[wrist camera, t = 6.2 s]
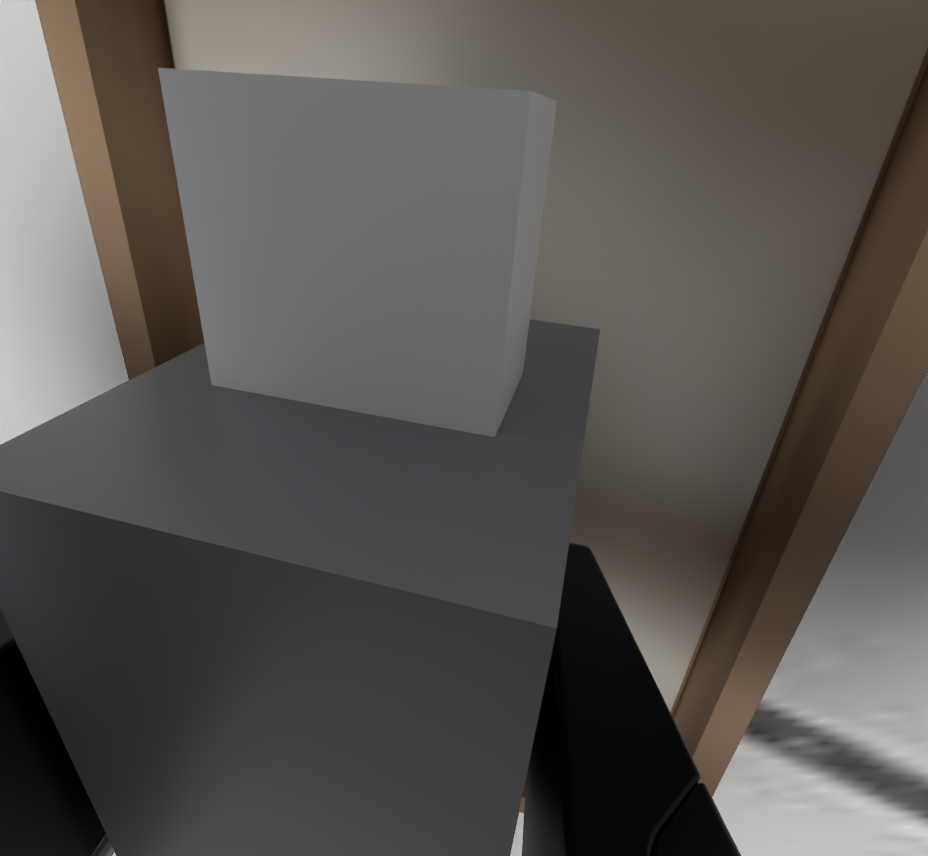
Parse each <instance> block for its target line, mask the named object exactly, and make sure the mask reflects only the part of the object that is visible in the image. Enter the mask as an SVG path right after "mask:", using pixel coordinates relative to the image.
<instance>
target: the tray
mask: <svg viewBox="0 0 928 856" xmlns="http://www.w3.org/2000/svg"><path fill="white" fill-rule="evenodd" d="M35 2H36V6H37V10H38V14H39V18H40V22H41V26H42V30H43V34H44V38H45V42H46V46H47V50H48V54H49V58H50V62H51V66H52V70H53V74H54V78H55V82H56V86H57V90H58V95H59V99H60V103H61V107H62V111H63V115H64V119H65V123H66V127H67V131H68V135H69V139H70V143H71V147H72V151H73V155H74V159H75V163H76V167H77V171H78V175H79V179H80V183H81V187H82V192H83V196H84V200H85V204H86V208H87V212H88V216H89V220H90V224H91V228H92V232H93V236H94V240H95V244H96V248H97V252H98V256H99V260H100V264H101V268H102V272H103V276H104V280H105V284H106V288H107V293H108V297H109V301H110V305H111V309H112V313H113V317H114V321H115V325H116V329H117V333H118V337H119V341H120V345H121V349H122V353H123V357H124V361H125V365H126V369H127V373H128V377H129V380H131V379H133V378H135V377H137V376H139V375H141V374H143V373H145V372H147V371H149V370H151V369H153V368H155V367H157V366H159V365H161V364H163V363H165V362H167V361H169V360H171V359H173V358H175V357H177V356H179V355H181V354H183V353H185V352H187V351H189V350H191V349H193V348H195V347H197V346H199V345H201V344H203V343H204V337H203V331H202V325H201V319H200V313H199V308H198V302H197V296H196V290H195V284H194V278H193V272H192V266H191V260H190V254H189V249H188V243H187V237H186V231H185V225H184V219H183V213H182V207H181V201H180V195H179V190H178V184H177V178H176V172H175V166H174V160H173V154H172V148H171V142H170V136H169V131H168V125H167V119H166V113H165V107H164V101H163V95H162V89H161V83H160V77H159V72H158V68H170V69H186V70H202V71H218V72H234V73H250V74H266V75H282V76H299V77H315V78H331V79H347V80H363V81H379V82H395V83H411V84H427V85H444V86H460V87H476V88H492V89H508V90H524V91H533V92H535V93H538V94H540V95H543V96H545V97H548V98H550V99H552V100H555V101H557V106H556V114H555V122H554V130H553V138H552V146H551V154H550V162H549V170H548V178H547V186H546V194H545V202H544V210H543V218H542V226H541V234H540V242H539V250H538V258H537V266H536V274H535V282H534V290H533V298H532V306H531V314H530V319H531V320H538V321H545V322H553V323H560V324H567V325H574V326H581V327H588V328H595V329H600V335H599V341H598V348H597V355H596V362H595V369H594V376H593V383H592V390H591V396H590V403H589V410H588V417H587V424H586V431H585V438H584V445H583V451H582V458H581V465H580V472H579V479H578V486H577V493H576V500H575V506H574V513H573V520H572V527H571V534H570V541H569V542H570V543H575V544H579V545H584V546H587V547H589V548H590V549H591V551H592V552H593V554H594V557H595V559H596V561H597V563H598V565H599V567H600V569H601V571H602V573H603V575H604V577H605V579H606V581H607V583H608V585H609V587H610V589H611V591H612V594H613V596H614V598H615V600H616V602H617V604H618V606H619V608H620V610H621V612H622V614H623V616H624V618H625V620H626V622H627V624H628V626H629V628H630V631H631V633H632V635H633V637H634V639H635V641H636V643H637V645H638V647H639V649H640V651H641V653H642V655H643V657H644V659H645V661H646V663H647V666H648V668H649V670H650V672H651V674H652V676H653V678H654V680H655V682H656V684H657V686H658V688H659V690H660V692H661V694H662V696H663V698H664V700H665V703H666V705H667V707H668V709H669V711H670V713H671V715H672V717H673V719H674V721H675V723H676V725H677V727H678V729H679V731H680V733H681V735H682V738H683V740H684V742H685V744H686V746H687V748H688V750H689V752H690V754H691V756H692V758H693V760H694V762H695V764H696V766H697V768H698V770H699V772H700V775H701V781H700V783H704V784H705V785H706V786H707V788H708V790H709V792H710V794H711V796H713V794H714V792H715V790H716V788H717V786H718V784H719V782H720V780H721V778H722V776H723V774H724V772H725V770H726V768H727V766H728V764H729V763H730V761H731V759H732V757H733V755H734V753H735V751H736V749H737V747H738V745H739V743H740V741H741V739H742V737H743V735H744V733H745V731H746V729H747V727H748V725H749V723H750V721H751V719H752V717H753V715H754V713H755V711H756V709H757V707H758V705H759V703H760V701H761V699H762V697H763V695H764V693H765V691H766V689H767V687H768V685H769V683H770V681H771V679H772V677H773V675H774V673H775V671H776V669H777V667H778V665H779V663H780V661H781V659H782V657H783V655H784V653H785V651H786V649H787V647H788V645H789V643H790V641H791V639H792V637H793V635H794V633H795V632H796V630H797V628H798V626H799V624H800V622H801V620H802V618H803V616H804V614H805V612H806V610H807V608H808V606H809V604H810V602H811V600H812V598H813V596H814V594H815V592H816V590H817V588H818V586H819V584H820V582H821V580H822V578H823V576H824V574H825V572H826V570H827V568H828V566H829V564H830V562H831V560H832V558H833V556H834V554H835V552H836V550H837V548H838V546H839V544H840V542H841V540H842V538H843V536H844V534H845V532H846V530H847V528H848V526H849V524H850V522H851V520H852V518H853V516H854V514H855V512H856V510H857V508H858V506H859V504H860V502H861V501H862V499H863V497H864V495H865V493H866V491H867V489H868V487H869V485H870V483H871V481H872V479H873V477H874V475H875V473H876V471H877V469H878V467H879V465H880V463H881V461H882V459H883V457H884V455H885V453H886V451H887V449H888V447H889V445H890V443H891V441H892V439H893V437H894V435H895V433H896V431H897V429H898V427H899V425H900V423H901V421H902V419H903V417H904V415H905V413H906V411H907V409H908V407H909V405H910V403H911V401H912V399H913V397H914V395H915V393H916V391H917V389H918V387H919V385H920V383H921V381H922V379H923V377H924V375H925V373H926V371H927V370H928V0H35ZM525 789H526V780H525V785H524V790H523V795H522V799H521V804H520V809H519V812H521V813H524V808H525Z"/></svg>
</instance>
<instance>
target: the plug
mask: <svg viewBox="0 0 928 856" xmlns="http://www.w3.org/2000/svg"><path fill="white" fill-rule="evenodd" d="M158 72H159V77H160V83H161V89H162V95H163V101H164V107H165V113H166V119H167V125H168V131H169V136H170V142H171V148H172V154H173V160H174V166H175V172H176V178H177V184H178V190H179V195H180V201H181V207H182V213H183V219H184V225H185V231H186V237H187V243H188V249H189V254H190V260H191V266H192V272H193V278H194V284H195V290H196V296H197V302H198V308H199V313H200V319H201V325H202V331H203V337H204V343H203V344H201V345H199V346H197V347H195V348H193V349H191V350H189V351H187V352H185V353H183V354H181V355H179V356H177V357H175V358H173V359H171V360H169V361H167V362H165V363H163V364H161V365H159V366H157V367H155V368H153V369H151V370H149V371H147V372H145V373H143V374H141V375H139V376H137V377H135V378H133V379H131V380H129V381H127V382H125V383H123V384H121V385H119V386H117V387H115V388H113V389H111V390H109V391H107V392H105V393H103V394H101V395H99V396H97V397H95V398H93V399H91V400H89V401H87V402H85V403H83V404H81V405H79V406H77V407H75V408H73V409H71V410H69V411H67V412H65V413H63V414H61V415H59V416H57V417H55V418H53V419H51V420H49V421H47V422H45V423H43V424H41V425H39V426H37V427H35V428H33V429H31V430H29V431H27V432H25V433H23V434H21V435H19V436H17V437H15V438H13V439H11V440H9V441H7V442H5V443H3V444H1V445H0V609H1V611H2V613H3V615H4V617H5V619H6V622H7V624H8V626H9V628H10V630H11V632H12V634H13V636H14V639H15V641H16V643H17V645H18V647H19V649H20V651H21V654H22V656H23V658H24V660H25V662H26V664H27V666H28V668H29V671H30V673H31V675H32V677H33V679H34V681H35V683H36V685H37V688H38V690H39V692H40V694H41V696H42V698H43V700H44V702H45V705H46V707H47V709H48V711H49V713H50V715H51V717H52V719H53V722H54V724H55V726H56V728H57V730H58V732H59V734H60V736H61V739H62V741H63V743H64V745H65V747H66V749H67V751H68V753H69V756H70V758H71V760H72V762H73V764H74V766H75V768H76V770H77V773H78V775H79V777H80V779H81V781H82V783H83V785H84V788H85V790H86V792H87V794H88V796H89V798H90V800H91V802H92V805H93V807H94V809H95V811H96V813H97V815H98V817H99V819H100V822H101V824H102V826H103V828H104V830H105V832H106V834H107V836H108V839H109V841H110V843H111V845H112V847H113V849H114V851H115V853H116V856H510V853H511V848H512V843H513V838H514V833H515V829H516V824H517V819H518V814H519V809H520V804H521V799H522V795H523V790H524V785H525V780H526V775H527V770H528V766H529V761H530V756H531V751H532V746H533V741H534V736H535V732H536V727H537V722H538V717H539V712H540V707H541V702H542V698H543V693H544V688H545V683H546V678H547V673H548V668H549V664H550V659H551V654H552V649H553V644H554V639H555V635H556V630H557V623H558V616H559V610H560V603H561V596H562V589H563V582H564V575H565V568H566V561H567V555H568V548H569V541H570V534H571V527H572V520H573V513H574V506H575V500H576V493H577V486H578V479H579V472H580V465H581V458H582V451H583V445H584V438H585V431H586V424H587V417H588V410H589V403H590V396H591V390H592V383H593V376H594V369H595V362H596V355H597V348H598V341H599V335H600V329H595V328H588V327H581V326H574V325H567V324H560V323H553V322H545V321H538V320H531V319H530V314H531V306H532V298H533V290H534V282H535V274H536V266H537V258H538V250H539V242H540V234H541V226H542V218H543V210H544V202H545V194H546V186H547V178H548V170H549V162H550V154H551V146H552V138H553V130H554V122H555V114H556V106H557V101H555V100H552V99H550V98H548V97H545V96H543V95H540V94H538V93H535V92H533V91H524V90H508V89H492V88H476V87H460V86H444V85H427V84H411V83H395V82H379V81H363V80H347V79H331V78H315V77H299V76H282V75H266V74H250V73H234V72H218V71H202V70H186V69H170V68H158Z"/></svg>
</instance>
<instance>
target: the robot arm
mask: <svg viewBox="0 0 928 856" xmlns="http://www.w3.org/2000/svg"><path fill="white" fill-rule="evenodd" d="M700 781H701V775H700V772H699V770H698V768H697V766H696V764H695V762H694V760H693V758H692V756H691V754H690V752H689V750H688V748H687V746H686V744H685V742H684V740H683V738H682V735H681V733H680V731H679V729H678V727H677V725H676V723H675V721H674V719H673V717H672V715H671V713H670V711H669V709H668V707H667V705H666V703H665V700H664V698H663V696H662V694H661V692H660V690H659V688H658V686H657V684H656V682H655V680H654V678H653V676H652V674H651V672H650V670H649V668H648V666H647V663H646V661H645V659H644V657H643V655H642V653H641V651H640V649H639V647H638V645H637V643H636V641H635V639H634V637H633V635H632V633H631V631H630V628H629V626H628V624H627V622H626V620H625V618H624V616H623V614H622V612H621V610H620V608H619V606H618V604H617V602H616V600H615V598H614V596H613V594H612V591H611V589H610V587H609V585H608V583H607V581H606V579H605V577H604V575H603V573H602V571H601V569H600V567H599V565H598V563H597V561H596V559H595V557H594V554H593V552H592V551H591V549H590V548H589V547H587V546H584V545H579V544H575V543H570V542H569V548H568V555H567V561H566V568H565V575H564V582H563V589H562V596H561V603H560V610H559V616H558V623H557V630H556V635H555V639H554V644H553V649H552V654H551V659H550V664H549V668H548V673H547V678H546V683H545V688H544V693H543V698H542V702H541V707H540V712H539V717H538V722H537V727H536V732H535V736H534V741H533V746H532V751H531V756H530V761H529V766H528V770H527V775H526V789H525V808H524V827H523V846H522V856H741V854H740V853H739V851H738V849H737V847H736V845H735V843H734V841H733V839H732V837H731V835H730V833H729V831H728V829H727V827H726V825H725V824H724V821H723V819H722V817H721V815H720V813H719V811H718V809H717V807H716V805H715V803H714V801H713V799H712V796H711V794H710V792H709V790H708V788H707V786H706V785H705V784H704V783H700ZM114 852H115V851H114V849H113V847H112V845H111V843H110V841H109V839H108V836H107V834H106V832H105V830H104V828H103V826H102V824H101V822H100V819H99V817H98V815H97V813H96V811H95V809H94V807H93V805H92V802H91V800H90V798H89V796H88V794H87V792H86V790H85V788H84V785H83V783H82V781H81V779H80V777H79V775H78V773H77V770H76V768H75V766H74V764H73V762H72V760H71V758H70V756H69V753H68V751H67V749H66V747H65V745H64V743H63V741H62V739H61V736H60V734H59V732H58V730H57V728H56V726H55V724H54V722H53V719H52V717H51V715H50V713H49V711H48V709H47V707H46V705H45V702H44V700H43V698H42V696H41V694H40V692H39V690H38V688H37V685H36V683H35V681H34V679H33V677H32V675H31V673H30V671H29V668H28V666H27V664H26V662H25V660H24V658H23V656H22V654H21V651H20V649H19V647H18V645H17V643H16V641H15V639H14V636H13V634H12V632H11V630H10V628H9V626H8V624H7V622H6V619H5V617H4V615H3V613H2V611H1V609H0V856H112V855H113V853H114Z"/></svg>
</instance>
